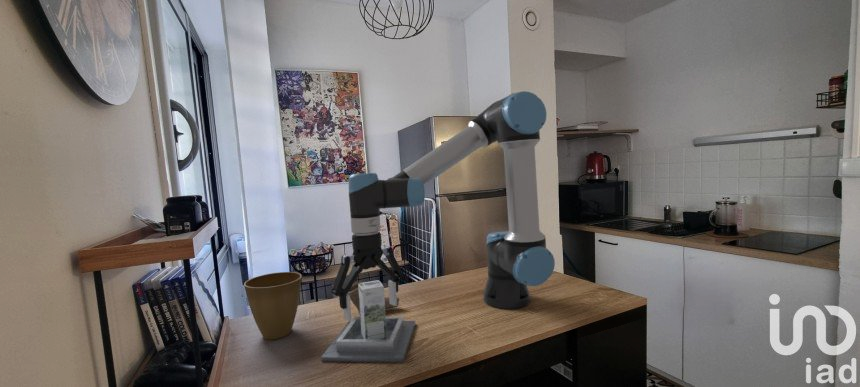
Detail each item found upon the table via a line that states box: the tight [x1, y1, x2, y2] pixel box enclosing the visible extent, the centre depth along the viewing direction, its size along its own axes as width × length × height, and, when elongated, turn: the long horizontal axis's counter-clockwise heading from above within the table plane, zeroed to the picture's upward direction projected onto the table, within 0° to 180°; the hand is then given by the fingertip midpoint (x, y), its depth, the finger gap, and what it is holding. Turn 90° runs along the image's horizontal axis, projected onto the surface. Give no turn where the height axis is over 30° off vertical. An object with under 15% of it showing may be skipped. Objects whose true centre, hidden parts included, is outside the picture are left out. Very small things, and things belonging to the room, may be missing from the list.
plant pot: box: [243, 271, 302, 340], centre depth 100 cm, size 15×15×16 cm
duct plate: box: [320, 316, 416, 363], centre depth 93 cm, size 20×20×4 cm
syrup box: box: [358, 279, 387, 339], centre depth 93 cm, size 6×6×14 cm
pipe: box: [347, 281, 400, 314], centre depth 112 cm, size 6×17×10 cm, turn 102°
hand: (371, 312), depth 92 cm, fingers open, 13 cm apart
